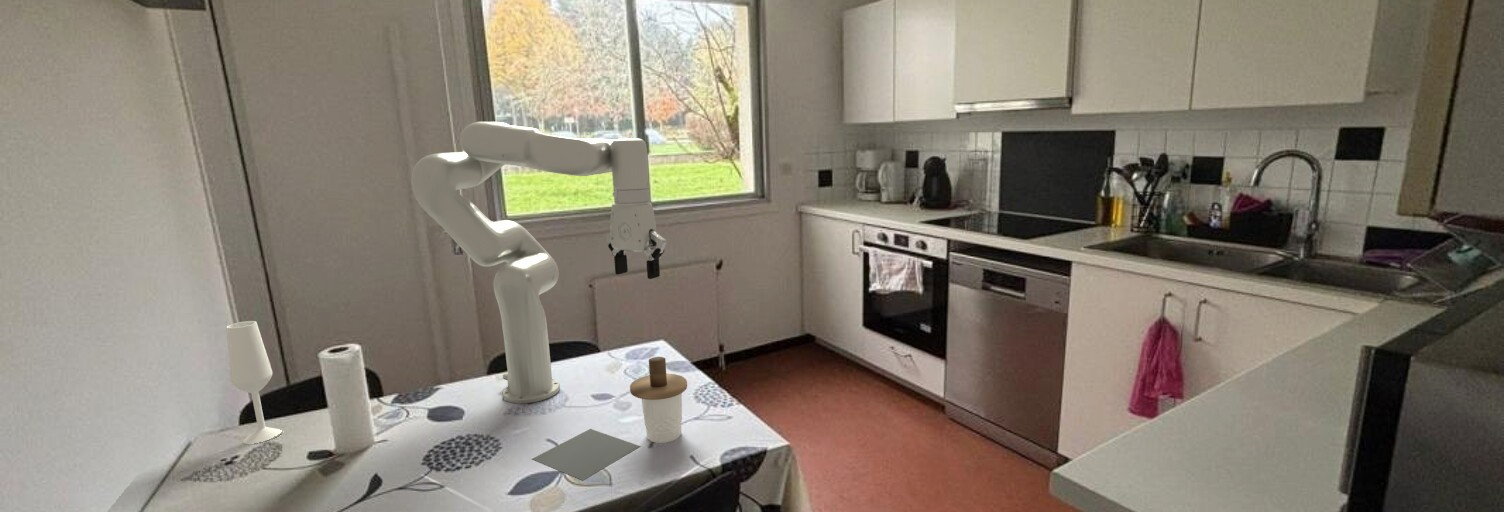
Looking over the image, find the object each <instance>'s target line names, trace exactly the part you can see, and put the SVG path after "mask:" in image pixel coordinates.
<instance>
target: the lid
mask: <svg viewBox="0 0 1504 512" xmlns="http://www.w3.org/2000/svg"><path fill="white" fill-rule="evenodd" d="M648 366H649V367H648V370H649V371H648V372H649V374H648V375H643V376H642V377H639V378H637V379H635V380H634V381H632V382H631V384H630V385H629V391H630V395H632V397H635V398H638V399H641V400H642V399H647V400H658V399H666V398H670V397H674V396H677V395H679V394H681V393H684V392H685V391H686V390H687V389H688V380H687V379H686V378H685V377H684V376H682V375H679V374H676V373H675V374H674V373H667V364H666V357H663V356H654V357H653V356H652V357H650V358H649V359H648Z"/></svg>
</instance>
